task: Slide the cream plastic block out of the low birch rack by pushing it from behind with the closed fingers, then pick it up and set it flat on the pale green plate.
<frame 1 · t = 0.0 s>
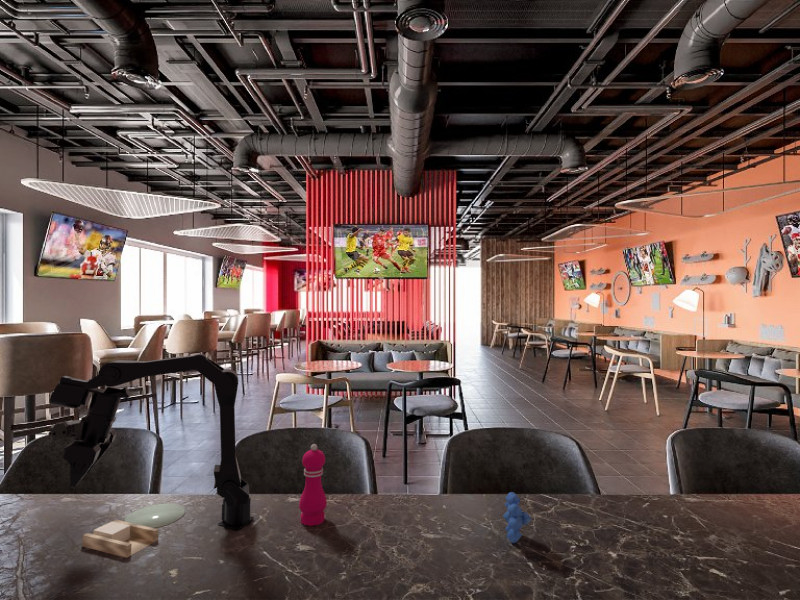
hand: (79, 479, 99), 15 cm above the countertop, tool pointing down, fingers open, 9 cm apart
birch rack: (120, 544, 100), on the countertop
pepper mill: (312, 521, 113), on the countertop
grapes: (517, 543, 103), on the countertop
green plate: (155, 517, 114), on the countertop
cream block: (111, 540, 101), resting on birch rack
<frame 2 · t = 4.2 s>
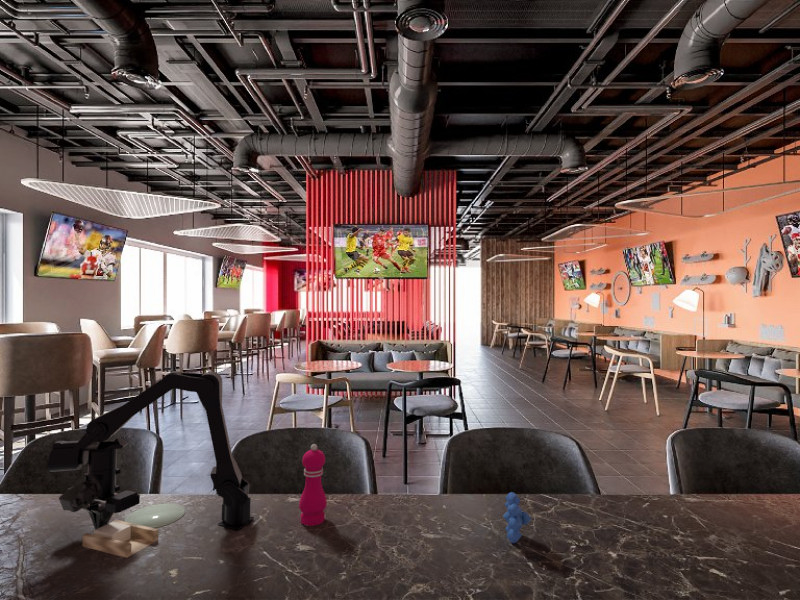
hand: (99, 533, 102), 1 cm above the countertop, tool pointing down, fingers closed
cream block: (112, 540, 101), resting on birch rack, touching gripper
everything else where it was.
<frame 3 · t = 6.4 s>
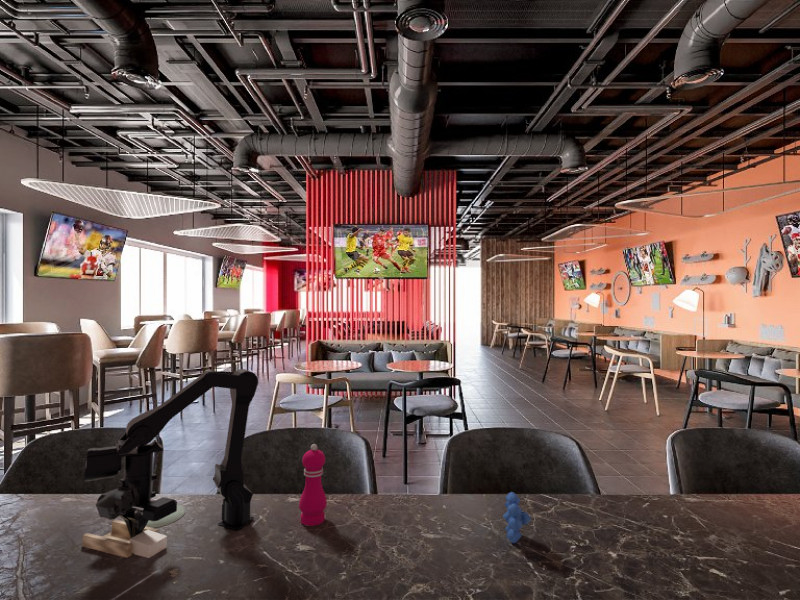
hand: (135, 541, 98), 2 cm above the countertop, tool pointing down, fingers closed
cream block: (147, 550, 97), on the countertop, touching gripper
everything else where it was.
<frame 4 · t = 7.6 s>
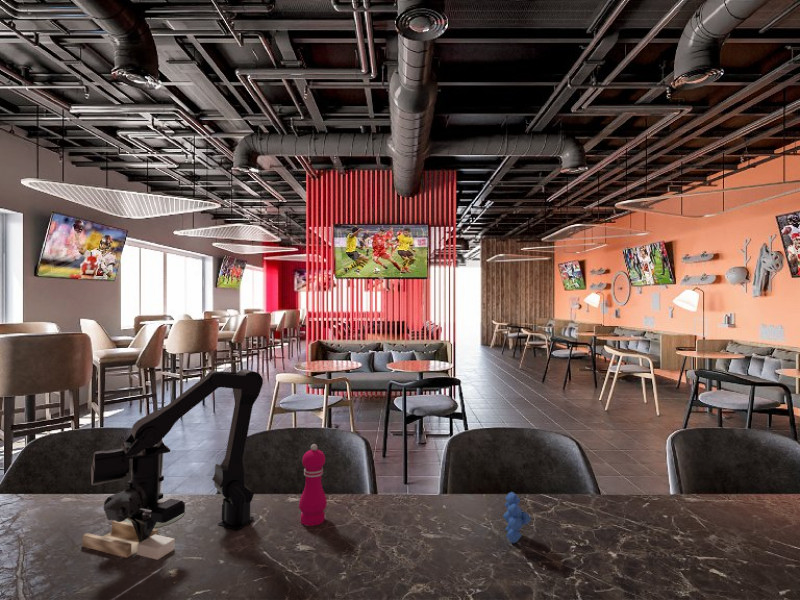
hand: (143, 543, 98), 2 cm above the countertop, tool pointing down, fingers closed
cream block: (155, 554, 96), on the countertop
everything else where it was.
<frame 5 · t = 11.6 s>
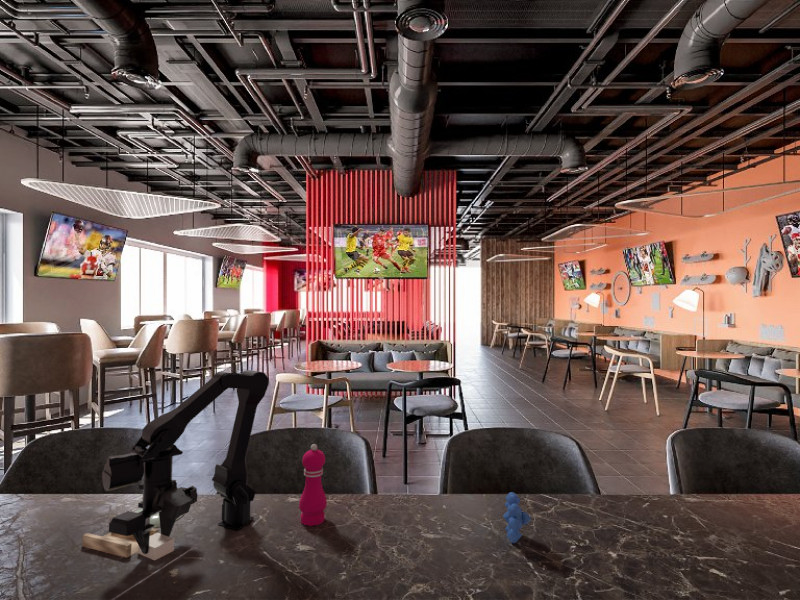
hand: (155, 547, 97), 1 cm above the countertop, tool pointing down, fingers closed on cream block, 5 cm apart
cream block: (155, 553, 96), on the countertop, touching gripper
everything else where it was.
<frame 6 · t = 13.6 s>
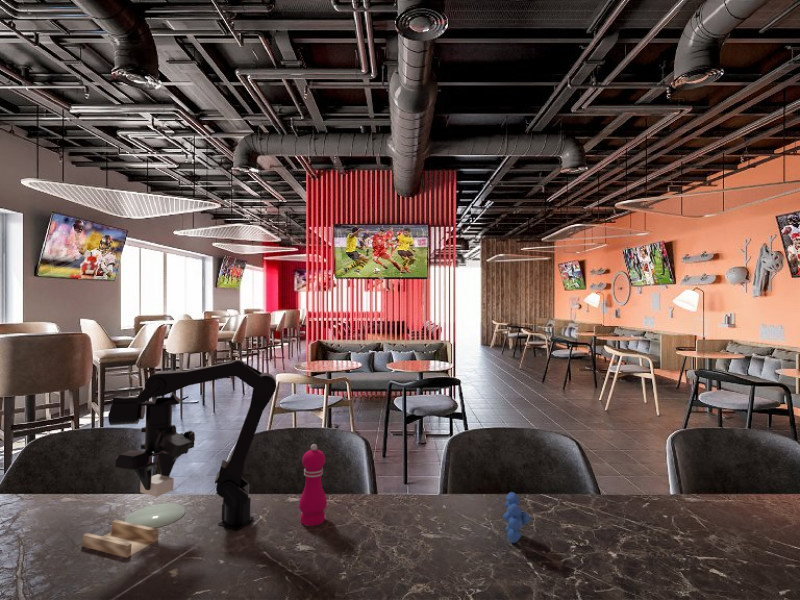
hand: (156, 485, 106), 12 cm above the countertop, tool pointing down, fingers closed on cream block, 5 cm apart
cream block: (156, 491, 106), point 10 cm above the countertop, touching gripper
everything else where it was.
when the fingers open (3 cm above the countertop, at t = 16.1 s): cream block drops 1 cm, resting on green plate.
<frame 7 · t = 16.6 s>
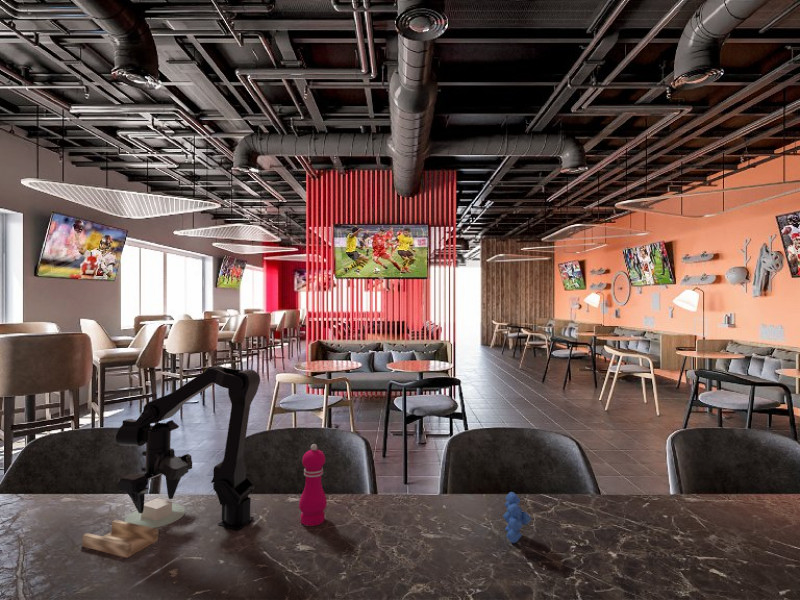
hand: (156, 505, 114), 3 cm above the countertop, tool pointing down, fingers open, 9 cm apart
cream block: (156, 514, 114), point 1 cm above the countertop, touching green plate
everything else where it was.
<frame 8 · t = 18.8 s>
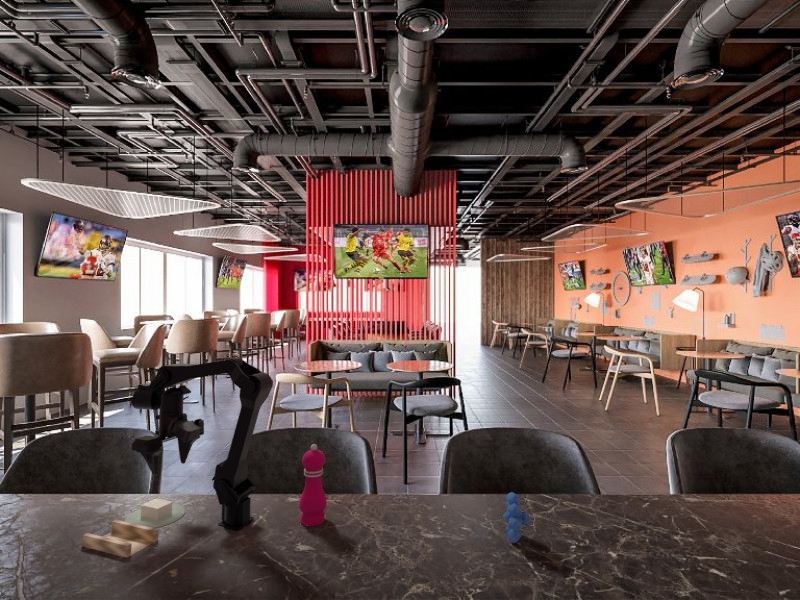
hand: (169, 468, 115), 12 cm above the countertop, tool pointing down, fingers open, 9 cm apart
nothing on the countertop moved.
at the end: cream block inside the target area on the green plate (0.2 cm from its centre), point 0.8 cm above the green plate's base; cream block tilted 0°; the gripper is holding nothing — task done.
